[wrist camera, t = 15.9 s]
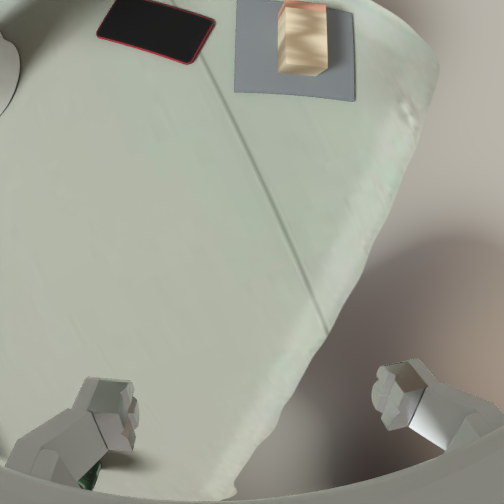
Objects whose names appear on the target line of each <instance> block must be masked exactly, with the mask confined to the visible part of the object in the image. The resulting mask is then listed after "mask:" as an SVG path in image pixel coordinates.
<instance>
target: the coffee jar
mask: <svg viewBox="0 0 504 504" xmlns="http://www.w3.org/2000/svg"><path fill="white" fill-rule="evenodd" d="M100 468H101V463H100V462H99V461H97V462H96V463H95V464H94V465H93V466H92V467H91V468H90V469H89V470H88V471H87V472H86V473H85V474H84V475H83V476H82V477H81V478H80V479H79V480H78V481H77V483H78V485H79V486H80V487H81V489H85V490H90V491H93V489H94V486H95V484H96V481H97V478H98V475H99V472H100Z"/></svg>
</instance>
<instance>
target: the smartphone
mask: <svg viewBox="0 0 504 504" xmlns="http://www.w3.org/2000/svg"><path fill="white" fill-rule="evenodd" d="M213 25H214V23H213V21H212V20H211V19H209V18H206V17H203V16H200V15H197V14H194V13H191V12H188V11H185V10H182V9H178V8H175V7H172V6H168V5H164V4H161V3H157V2H153V1H149V0H116V1H115V2H114V4H113V5H112V7H111V8H110V10H109V12H108V13H107V15H106V17H105V18H104V20H103V22H102V23H101V25H100V27H99V28H98V30H97V32H96V35H97V37H98V38H101V39H105V40H108V41H112V42H116V43H120V44H123V45H127V46H130V47H134V48H137V49H140V50H143V51H147V52H150V53H153V54H156V55H159V56H162V57H165V58H168V59H171V60H174V61H177V62H179V63H182V64H186V65H187V64H191V63H192V62H193V61H194V59H195V57H196V55H197V53H198V52H199V50H200V48H201V46H202V45H203V43H204V41H205V39H206V38H207V36H208V34H209V32H210V31H211V29H212V27H213Z"/></svg>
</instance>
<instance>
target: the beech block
mask: <svg viewBox="0 0 504 504" xmlns="http://www.w3.org/2000/svg"><path fill="white" fill-rule="evenodd" d="M327 68H328V52H327V20H326V5H322V4H316V3H310V2H303V1H296V0H285V1H284V3H283V5H282V7H281V9H280V11H279V13H278V73H284V74H296V75H306V76H317V75H318V74H320V73H321V72H323V71H324V70H326V69H327Z"/></svg>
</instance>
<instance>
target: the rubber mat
mask: <svg viewBox="0 0 504 504" xmlns="http://www.w3.org/2000/svg"><path fill="white" fill-rule="evenodd" d="M283 3H284V2H280V1H269V0H237V16H236V45H235V80H234V92H246V93H270V94H286V95H298V96H309V97H319V98H328V99H336V100H343V101H351V102H354V50H353V27H352V13H349V12H344V11H339V10H334V9H329V8H326V20H327V52H328V68H327V69H326V70H324V71H323V72H321V73H320V74H318V75H317V76H306V75H296V74H284V73H278V13H279V11H280V9H281V7H282V5H283Z"/></svg>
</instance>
